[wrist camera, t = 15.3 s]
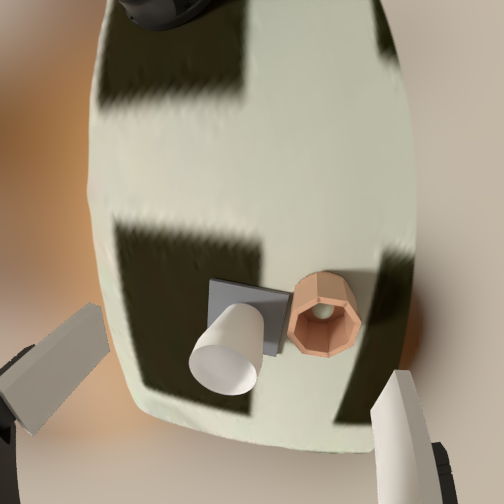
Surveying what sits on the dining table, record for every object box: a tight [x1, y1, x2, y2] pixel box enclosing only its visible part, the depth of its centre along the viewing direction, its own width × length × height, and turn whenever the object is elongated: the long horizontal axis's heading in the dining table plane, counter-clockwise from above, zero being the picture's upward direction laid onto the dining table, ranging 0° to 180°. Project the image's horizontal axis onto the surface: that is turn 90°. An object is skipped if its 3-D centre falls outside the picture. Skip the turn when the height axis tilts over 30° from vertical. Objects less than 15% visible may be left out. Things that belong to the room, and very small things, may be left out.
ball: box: [312, 303, 334, 319], centre depth 38 cm, size 3×3×3 cm
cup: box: [189, 303, 264, 395], centre depth 38 cm, size 9×9×12 cm
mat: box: [208, 278, 289, 357], centre depth 44 cm, size 12×12×1 cm
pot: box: [287, 271, 362, 358], centre depth 37 cm, size 9×9×8 cm
